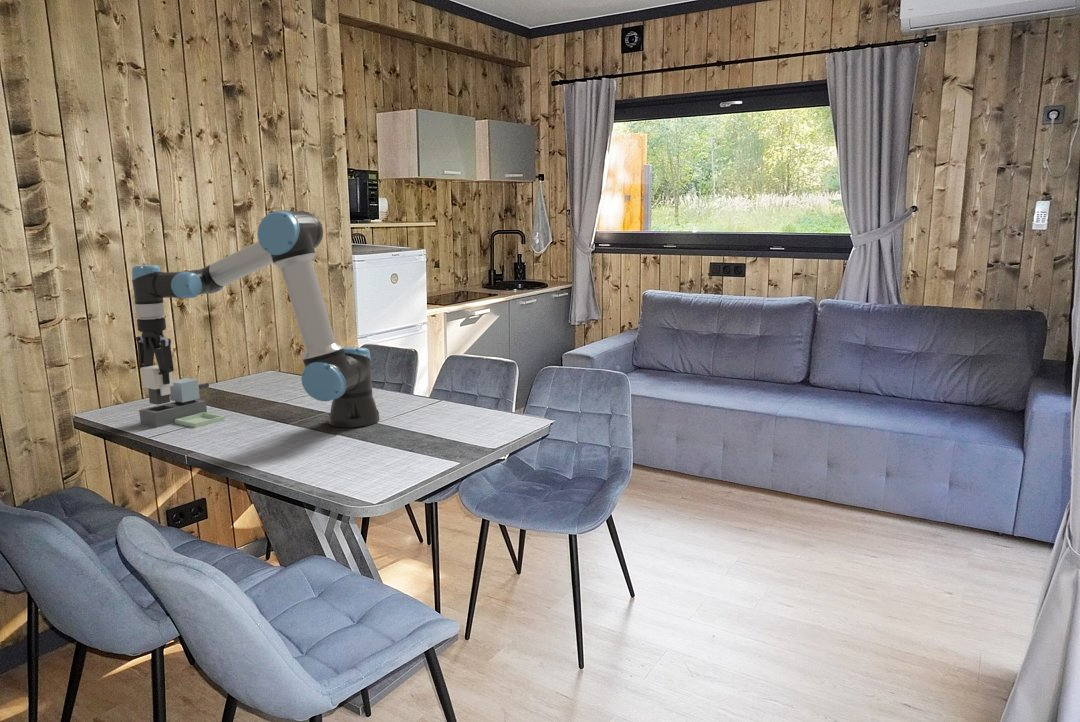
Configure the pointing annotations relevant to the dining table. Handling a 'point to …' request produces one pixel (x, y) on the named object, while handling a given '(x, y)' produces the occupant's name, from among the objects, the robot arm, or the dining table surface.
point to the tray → (199, 419)
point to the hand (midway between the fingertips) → (158, 393)
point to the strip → (176, 404)
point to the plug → (154, 384)
